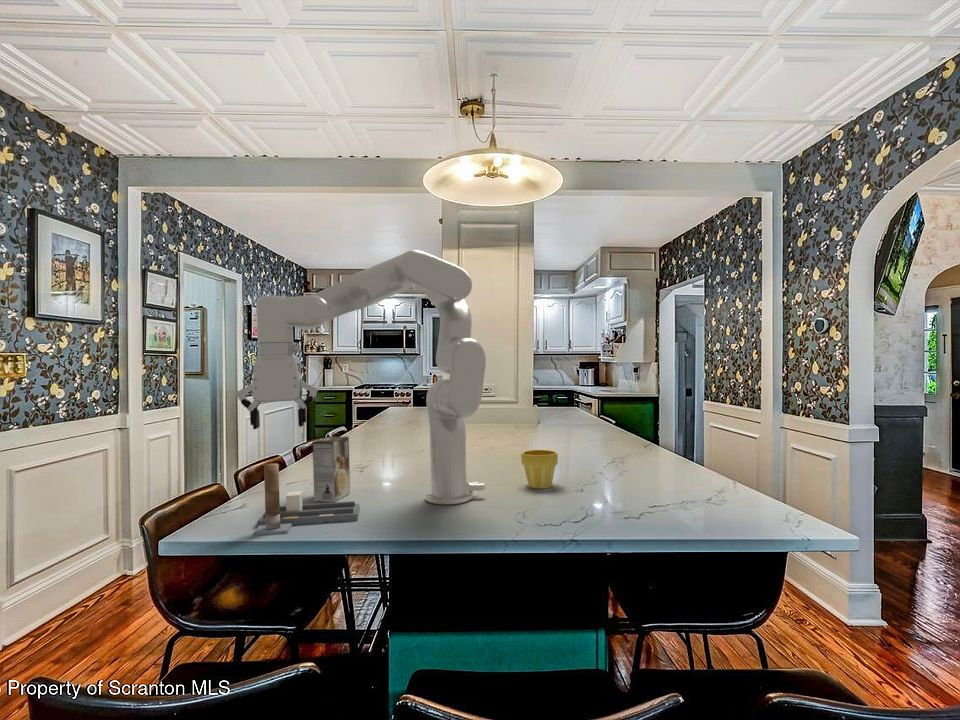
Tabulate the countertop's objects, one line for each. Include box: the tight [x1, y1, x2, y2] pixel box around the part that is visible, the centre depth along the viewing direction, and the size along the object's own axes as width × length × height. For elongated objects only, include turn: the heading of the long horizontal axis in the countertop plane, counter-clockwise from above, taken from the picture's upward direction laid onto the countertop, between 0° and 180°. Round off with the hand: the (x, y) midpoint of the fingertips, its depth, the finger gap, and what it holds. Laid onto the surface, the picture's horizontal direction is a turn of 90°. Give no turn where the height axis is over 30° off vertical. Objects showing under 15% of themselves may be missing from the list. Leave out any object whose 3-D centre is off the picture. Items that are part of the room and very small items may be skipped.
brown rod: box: [263, 462, 281, 530], centre depth 116 cm, size 3×3×14 cm
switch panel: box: [256, 500, 360, 527], centre depth 125 cm, size 22×9×2 cm, turn 100°
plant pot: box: [520, 449, 559, 490], centre depth 151 cm, size 10×10×10 cm
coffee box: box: [311, 436, 351, 503], centre depth 143 cm, size 9×6×16 cm
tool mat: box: [253, 523, 293, 536], centre depth 116 cm, size 7×5×1 cm
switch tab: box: [285, 490, 303, 512], centre depth 124 cm, size 3×4×4 cm
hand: (279, 427), depth 118 cm, fingers open, 9 cm apart
